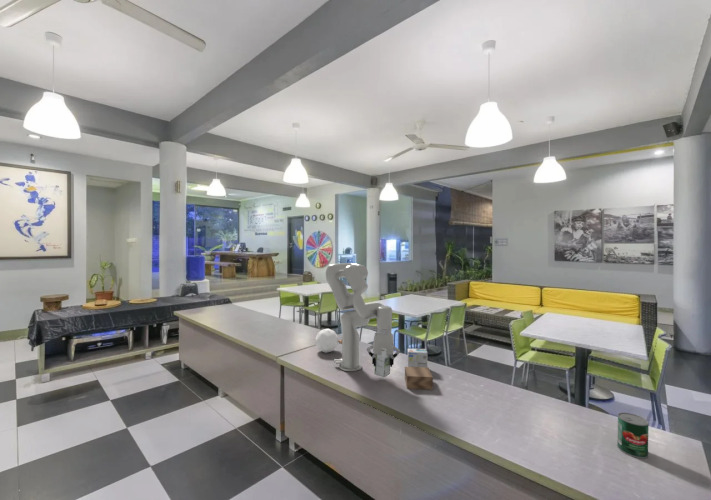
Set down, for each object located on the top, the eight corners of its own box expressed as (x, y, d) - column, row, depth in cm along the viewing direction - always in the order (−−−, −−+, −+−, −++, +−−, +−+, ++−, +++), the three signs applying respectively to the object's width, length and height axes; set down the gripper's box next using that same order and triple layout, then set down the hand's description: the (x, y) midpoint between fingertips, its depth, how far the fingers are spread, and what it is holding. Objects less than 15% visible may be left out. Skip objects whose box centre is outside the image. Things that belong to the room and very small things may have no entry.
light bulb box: (426, 367, 180) (426, 348, 180) (427, 372, 174) (427, 352, 173) (407, 366, 181) (407, 347, 181) (407, 371, 175) (408, 351, 174)
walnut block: (407, 388, 153) (407, 376, 153) (404, 378, 165) (404, 366, 165) (432, 389, 153) (432, 377, 153) (428, 379, 165) (428, 367, 165)
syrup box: (380, 371, 165) (381, 343, 164) (390, 374, 161) (391, 345, 161) (374, 374, 160) (375, 345, 160) (384, 378, 157) (385, 348, 156)
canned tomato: (633, 443, 112) (633, 412, 112) (655, 458, 104) (655, 424, 104) (611, 443, 112) (611, 412, 112) (631, 458, 104) (632, 425, 104)
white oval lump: (314, 351, 196) (346, 354, 198) (317, 326, 200) (348, 329, 203) (313, 351, 209) (343, 354, 212) (316, 327, 214) (345, 330, 217)
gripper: (366, 332, 157) (365, 367, 157) (402, 334, 156) (400, 369, 156) (366, 328, 164) (365, 362, 165) (400, 329, 163) (399, 363, 164)
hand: (382, 365), depth 161 cm, fingers closed on syrup box, 8 cm apart
